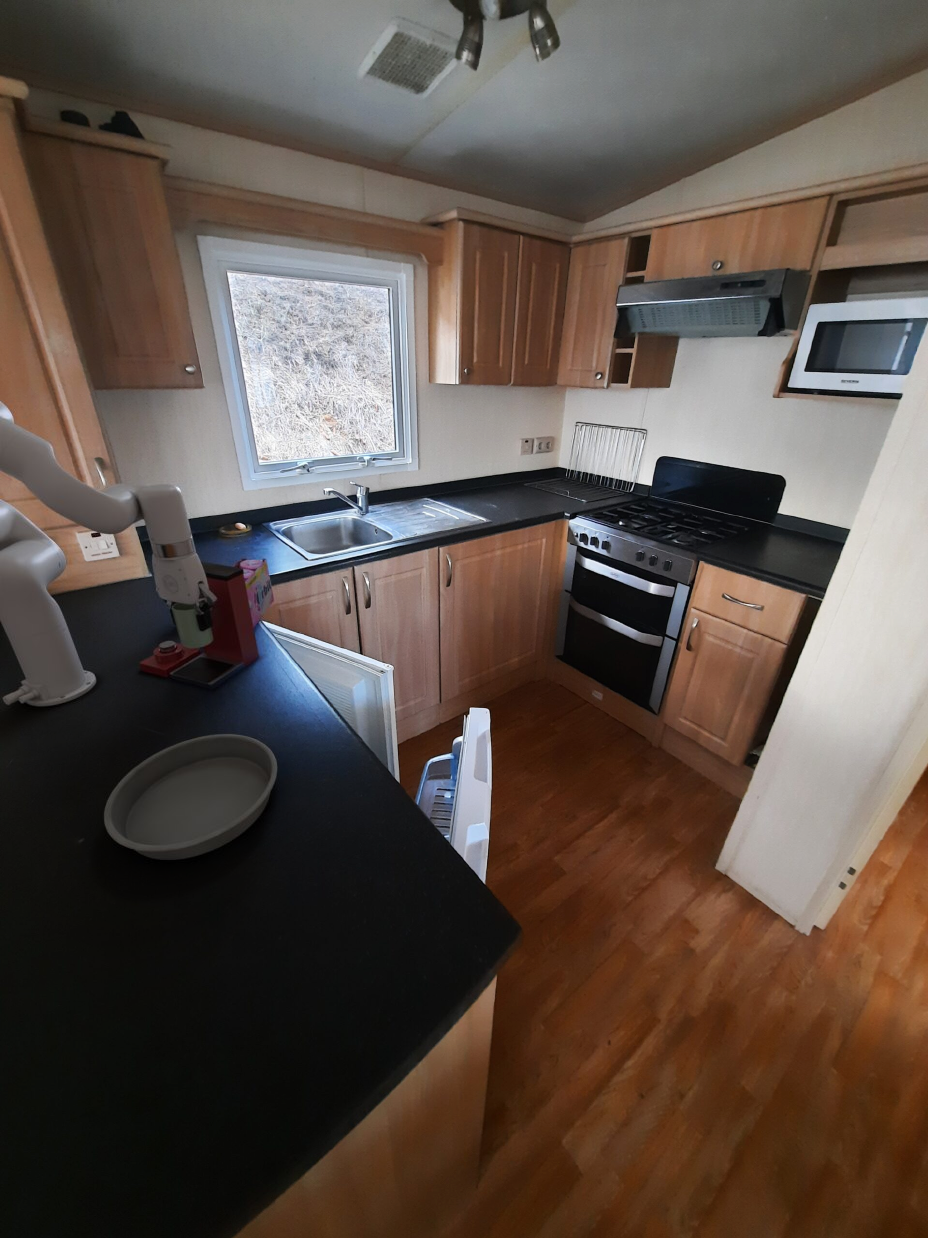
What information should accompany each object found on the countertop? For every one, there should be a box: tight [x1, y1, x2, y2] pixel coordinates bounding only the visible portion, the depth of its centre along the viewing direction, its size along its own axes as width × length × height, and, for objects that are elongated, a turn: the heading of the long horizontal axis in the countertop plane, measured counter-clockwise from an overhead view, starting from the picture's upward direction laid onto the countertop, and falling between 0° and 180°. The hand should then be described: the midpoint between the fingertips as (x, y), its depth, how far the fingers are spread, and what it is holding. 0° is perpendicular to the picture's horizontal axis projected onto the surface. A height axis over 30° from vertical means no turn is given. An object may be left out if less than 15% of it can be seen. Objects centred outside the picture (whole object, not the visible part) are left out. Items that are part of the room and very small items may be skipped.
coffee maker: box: [169, 560, 260, 690], centre depth 114 cm, size 15×12×23 cm
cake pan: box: [103, 733, 278, 861], centre depth 81 cm, size 25×25×4 cm
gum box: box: [232, 557, 275, 628], centre depth 141 cm, size 24×8×14 cm, turn 2°
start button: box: [158, 640, 176, 654], centre depth 119 cm, size 3×3×2 cm
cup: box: [172, 601, 214, 649], centre depth 110 cm, size 6×6×9 cm
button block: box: [138, 642, 202, 678], centre depth 120 cm, size 10×8×4 cm
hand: (193, 625), depth 111 cm, fingers closed on cup, 6 cm apart
